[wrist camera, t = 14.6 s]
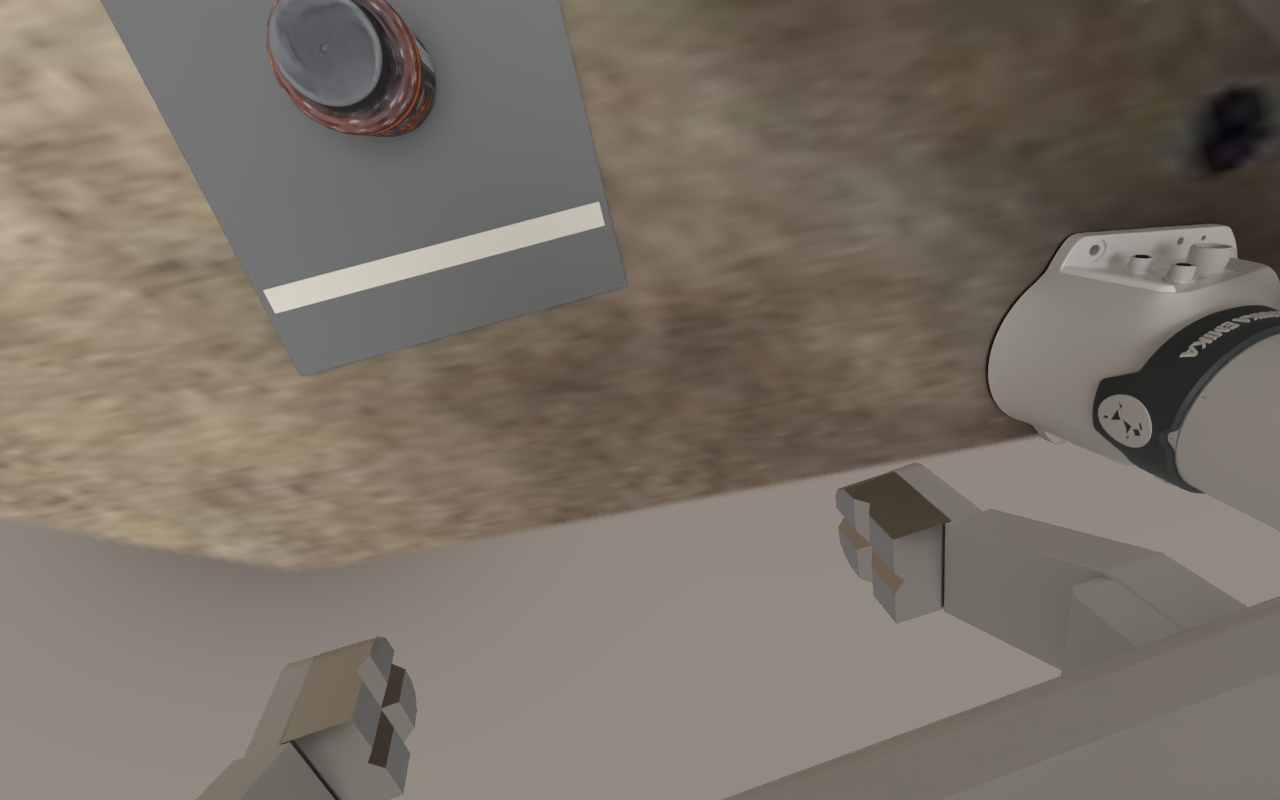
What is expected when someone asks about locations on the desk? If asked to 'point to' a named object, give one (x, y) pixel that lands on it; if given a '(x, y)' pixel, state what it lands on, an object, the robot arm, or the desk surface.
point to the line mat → (389, 175)
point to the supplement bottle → (351, 65)
